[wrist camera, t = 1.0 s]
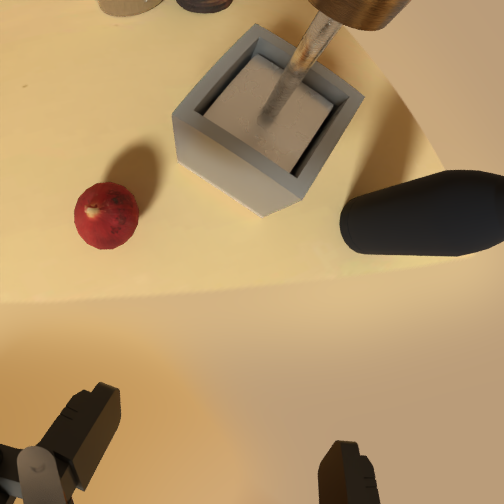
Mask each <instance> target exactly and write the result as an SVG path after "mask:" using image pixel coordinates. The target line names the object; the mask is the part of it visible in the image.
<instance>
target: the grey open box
mask: <svg viewBox="0 0 504 504" xmlns="http://www.w3.org/2000/svg"><path fill="white" fill-rule="evenodd" d="M295 50H296V47H295V46H293V45H291V44H290V43H288V42H287V41H285V40H283V39H282V38H280V37H278V36H277V35H275V34H273V33H272V32H270V31H268V30H266V29H265V28H263V27H261V26H259V25H257V24H256V23H255V24H254V25H253V26H252V27H251V28H250V29H249V30H248V31H247V32H246V33H245V34H244V35H243V36H242V37H241V38H240V39H239V40H238V41H237V42H236V43H235V44H234V45H233V46H232V47H231V48H230V49H229V50H228V51H227V52H226V53H225V54H224V55H223V56H222V57H221V58H220V59H219V60H218V61H217V63H216V64H215V65H214V66H213V67H212V68H211V69H210V70H209V71H208V72H207V73H206V74H205V76H204V77H203V78H202V79H201V80H200V81H199V82H198V83H197V85H196V86H195V87H194V88H193V89H192V90H191V91H190V93H189V94H188V95H187V96H186V97H185V99H184V100H183V101H182V102H181V103H180V104H179V106H178V107H177V108H176V109H175V111H174V112H173V113H172V122H173V130H174V138H175V146H176V153H177V160H178V163H179V164H181V165H182V166H184V167H185V168H187V169H188V170H190V171H192V172H193V173H195V174H196V175H198V176H199V177H201V178H202V179H204V180H205V181H207V182H208V183H210V184H211V185H213V186H214V187H216V188H217V189H219V190H221V191H222V192H224V193H225V194H227V195H228V196H230V197H231V198H233V199H234V200H236V201H237V202H239V203H240V204H242V205H243V206H245V207H246V208H248V209H249V210H250V211H252V212H253V213H255V214H256V215H258V216H259V217H261V218H263V217H265V216H267V215H270V214H272V213H274V212H276V211H279V210H281V209H283V208H285V207H288V206H290V205H292V204H294V203H297V202H299V201H301V200H302V199H303V198H304V196H305V194H306V193H307V191H308V190H309V188H310V186H311V185H312V183H313V182H314V180H315V178H316V177H317V175H318V173H319V172H320V170H321V169H322V167H323V165H324V164H325V162H326V160H327V159H328V157H329V155H330V154H331V152H332V151H333V149H334V147H335V146H336V144H337V142H338V141H339V139H340V137H341V136H342V134H343V133H344V131H345V129H346V128H347V126H348V124H349V123H350V121H351V119H352V118H353V116H354V114H355V113H356V111H357V109H358V108H359V106H360V104H361V103H362V101H363V99H364V98H365V96H363V95H362V94H361V93H360V92H358V91H357V90H356V89H355V88H353V87H352V86H351V85H349V84H348V83H347V82H345V81H344V80H343V79H341V78H340V77H339V76H337V75H336V74H334V73H333V72H332V71H330V70H329V69H327V68H326V67H325V66H323V65H322V64H320V63H319V62H317V61H315V63H314V64H313V66H312V67H311V68H310V70H309V71H308V73H307V74H306V75H305V77H304V78H303V80H302V81H301V82H303V83H304V84H306V85H307V86H308V87H310V88H311V89H313V90H314V91H316V92H317V93H318V94H320V95H321V96H323V97H324V98H325V99H327V100H328V101H329V102H331V103H332V104H333V105H334V106H333V108H332V109H331V111H330V112H329V114H328V115H327V117H326V118H325V120H324V121H323V123H322V124H321V126H320V127H319V129H318V131H317V132H316V134H315V135H314V137H313V138H312V140H311V141H310V143H309V144H308V146H307V147H306V149H305V150H304V152H303V153H302V155H301V156H300V158H299V160H298V161H297V163H296V164H295V166H294V167H293V169H292V170H291V172H290V173H288V172H287V171H286V170H284V169H283V168H281V167H280V166H278V165H277V164H276V163H274V162H273V161H271V160H270V159H268V158H267V157H265V156H264V155H262V154H261V153H259V152H258V151H256V150H255V149H253V148H252V147H250V146H249V145H247V144H246V143H244V142H243V141H241V140H240V139H238V138H237V137H235V136H234V135H232V134H231V133H229V132H228V131H226V130H224V129H223V128H221V127H220V126H218V125H217V124H215V123H213V122H212V121H210V120H209V119H207V118H205V117H204V116H203V115H204V114H205V113H206V112H207V110H208V109H209V108H210V107H211V105H212V104H213V103H214V102H215V101H216V99H217V98H218V97H219V96H220V95H221V93H222V92H223V91H224V90H225V89H226V87H227V86H228V85H229V84H230V83H231V82H232V81H233V79H234V78H235V77H236V76H237V75H238V74H239V73H240V71H241V70H242V69H243V68H244V67H245V66H246V65H247V64H248V63H249V61H250V60H251V59H252V58H253V57H254V56H255V55H256V54H259V55H260V56H262V57H264V58H265V59H267V60H269V61H270V62H272V63H274V64H275V65H277V66H278V67H280V68H281V69H283V70H284V69H285V67H286V66H287V64H288V62H289V60H290V59H291V57H292V55H293V54H294V52H295Z"/></svg>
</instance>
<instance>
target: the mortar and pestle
mask: <svg viewBox="0 0 504 504" xmlns="http://www.w3.org/2000/svg"><path fill="white" fill-rule="evenodd" d="M176 1H177V3H178V4H179V5H180V6H181V7H183V8H184V9H186V10H188V11H190V12H196V13H215V12H219V11H221V10H224V9H226V8H227V7H228V6H229V5H230V4H231V2H232V0H176Z"/></svg>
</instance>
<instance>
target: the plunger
mask: <svg viewBox="0 0 504 504" xmlns="http://www.w3.org/2000/svg"><path fill="white" fill-rule="evenodd" d="M308 1H309V2H310V3H311V4H312V5H313V6H314V7H315V8H317V9H318V10H319V12H318V13H317V15H316V17H315V18H314V20H313V21H312V23H311V25H310V26H309V28H308V30H307V31H306V33H305V35H304V36H303V38H302V40H301V42H300V43H299V45H298V47H297V48H296V50H295V52H294V54H293V55H292V57H291V59H290V60H289V62H288V64H287V66H286V67H285V69H284V70H283V69H281V68H280V67H278V66H277V65H275V64H274V63H272V62H270V61H269V60H267V59H265V58H264V57H262V56H260V55H259V54H256V55H255V56H254V57H253V58H252V59H251V60H250V61H249V63H248V64H247V65H246V66H245V67H244V68H243V69H242V70H241V71H240V73H239V74H238V75H237V76H236V77H235V78H234V79H233V81H232V82H231V83H230V84H229V85H228V86H227V87H226V89H225V90H224V91H223V92H222V93H221V95H220V96H219V97H218V98H217V99H216V101H215V102H214V103H213V104H212V105H211V107H210V108H209V109H208V110H207V112H206V113H205V114H204V115H203V116H204V117H205V118H207V119H209V120H210V121H212V122H213V123H215V124H217V125H218V126H220V127H221V128H223V129H224V130H226V131H228V132H229V133H231V134H232V135H234V136H235V137H237V138H238V139H240V140H241V141H243V142H244V143H246V144H247V145H249V146H250V147H252V148H253V149H255V150H256V151H258V152H259V153H261V154H262V155H264V156H265V157H267V158H268V159H270V160H271V161H273V162H274V163H276V164H277V165H278V166H280V167H281V168H283V169H284V170H286V171H287V172H288V173H290V172H291V170H292V169H293V167H294V166H295V164H296V163H297V161H298V160H299V158H300V156H301V155H302V153H303V152H304V150H305V149H306V147H307V146H308V144H309V143H310V141H311V140H312V138H313V137H314V135H315V134H316V132H317V131H318V129H319V127H320V126H321V124H322V123H323V121H324V120H325V118H326V117H327V115H328V114H329V112H330V111H331V109H332V108H333V106H334V105H333V104H332V103H331V102H329V101H328V100H327V99H325V98H324V97H323V96H321V95H320V94H318V93H317V92H316V91H314V90H313V89H311V88H310V87H308V86H307V85H306V84H304V83H303V82H301V81H302V80H303V78H304V77H305V75H306V74H307V73H308V71H309V70H310V68H311V67H312V66H313V64H314V63H315V61H316V60H317V59H318V57H319V56H320V55H321V53H322V52H323V51H324V49H325V48H326V46H327V45H328V44H329V42H330V41H331V40H332V38H333V37H334V36H335V34H336V33H337V32H338V30H339V29H340V28H341V26H342V25H346V26H348V27H351V28H355V29H358V30H364V31H376V30H380V29H382V28H384V27H385V26H386V25H387V24H388V23H389V22H390V21H391V20H392V19H393V18H394V17H395V16H396V15H397V14H398V13H399V12H400V11H401V10H402V9H403V8H404V7H405V6H406V5H407V4H408V3H409V2H410V1H411V0H308Z"/></svg>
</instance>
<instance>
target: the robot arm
mask: <svg viewBox="0 0 504 504" xmlns="http://www.w3.org/2000/svg"><path fill="white" fill-rule="evenodd" d="M161 1H162V0H98V3H99V6H100V8H101V9H102V11H104V12H105V13H107V14H109V15H113V16H132V15H136V14H140V13H143V12H145V11H148V10H150V9H152V8H154V7H155V6H156V5H158V4H159V3H160V2H161ZM120 419H121V406H120V390H119V389H118V388H115V387H112V386H110V385H107V384H105V383H102V382H99V383H98V384H97V385H96V386H95V388H94V389H93V391H92V392H89V391H86V390H82V391H81V392H79V393H77V394H76V395H74V396H73V397H72V398H71V399H70V401H69V402H68V403H67V405H66V407H65V408H64V409H63V410H62V412H61V413H60V415H59V416H58V417H57V418H56V420H55V421H54V423H53V424H52V425H51V427H50V428H49V430H48V431H47V432H46V434H45V435H44V437H43V438H42V439H41V441H40V442H39V443H38V444H37V445H36V446H31V447H27V448H25V449H17V448H13V447H9V446H6V445H3V444H0V504H13V503H14V501H15V499H16V497H18V498H21V499H23V502H24V504H74V502H73V499H72V494H73V492H74V490H75V488H78V489H80V490H82V491H85V489H86V488H87V486H88V484H89V482H90V480H91V478H92V476H93V474H94V472H95V470H96V468H97V466H98V464H99V462H100V460H101V458H102V457H103V455H104V453H105V451H106V449H107V447H108V445H109V443H110V441H111V439H112V438H113V436H114V434H115V432H116V430H117V428H118V426H119V423H120ZM318 487H319V504H380V499H379V494H378V489H377V483H376V480H375V473H374V468H373V465H372V464H371V462H370V461H369V459H368V458H367V456H362V455H361V456H360V453H359V448H358V444H357V443H356V442H350V441H339V440H337V441H335V442H334V444H333V445H332V447H331V448H330V450H329V451H328V453H327V454H326V455H325V457H324V458H323V460H322V461H321V463H320V466H319V470H318Z"/></svg>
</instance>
